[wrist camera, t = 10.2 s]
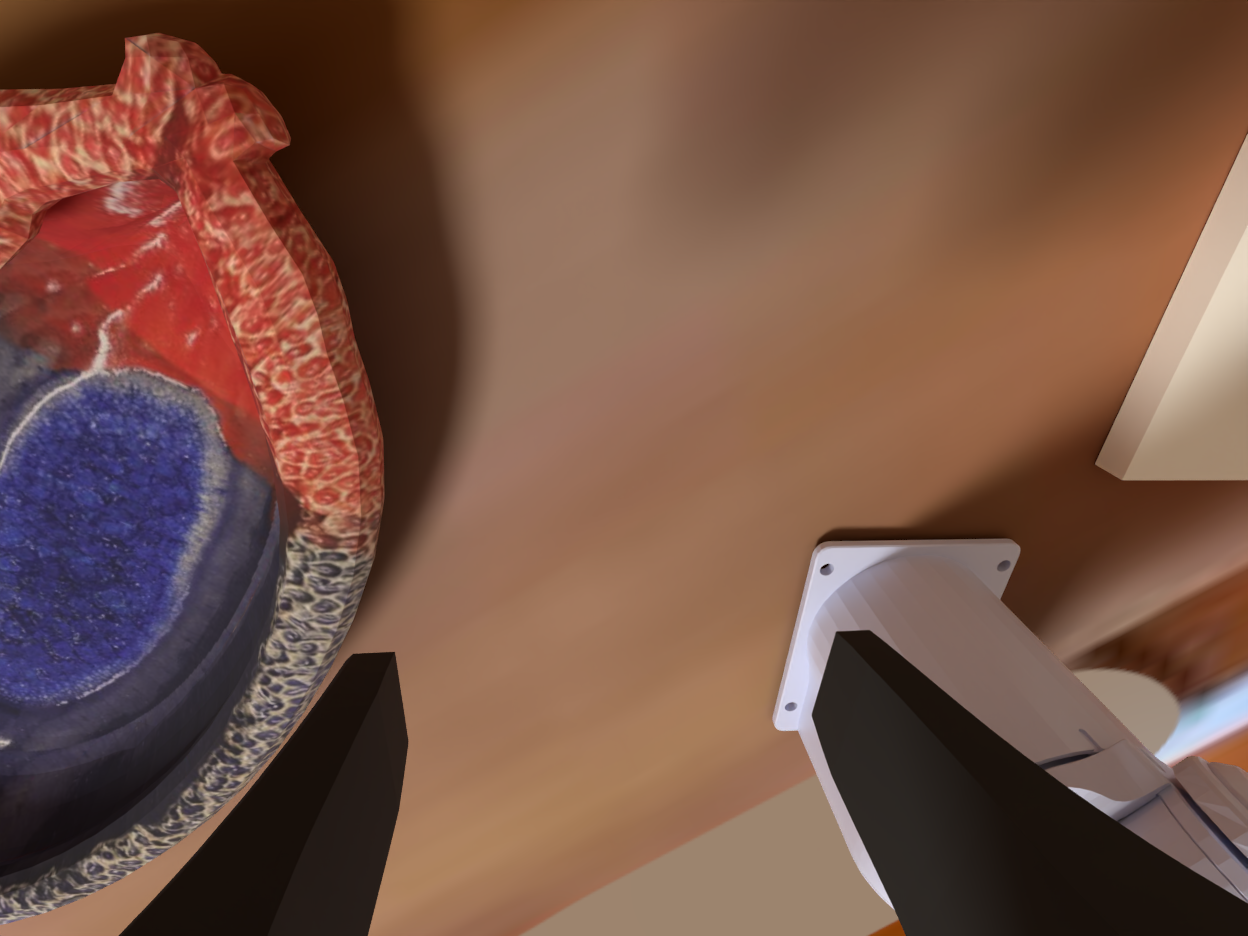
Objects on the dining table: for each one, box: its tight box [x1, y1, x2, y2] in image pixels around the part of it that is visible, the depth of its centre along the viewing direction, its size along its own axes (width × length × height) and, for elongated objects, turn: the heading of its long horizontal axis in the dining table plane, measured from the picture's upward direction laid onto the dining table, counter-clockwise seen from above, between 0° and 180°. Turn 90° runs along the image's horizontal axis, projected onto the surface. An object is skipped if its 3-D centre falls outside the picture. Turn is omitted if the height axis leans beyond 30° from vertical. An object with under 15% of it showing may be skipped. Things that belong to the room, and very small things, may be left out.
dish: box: [0, 33, 385, 925], centre depth 17 cm, size 16×31×5 cm, turn 140°
